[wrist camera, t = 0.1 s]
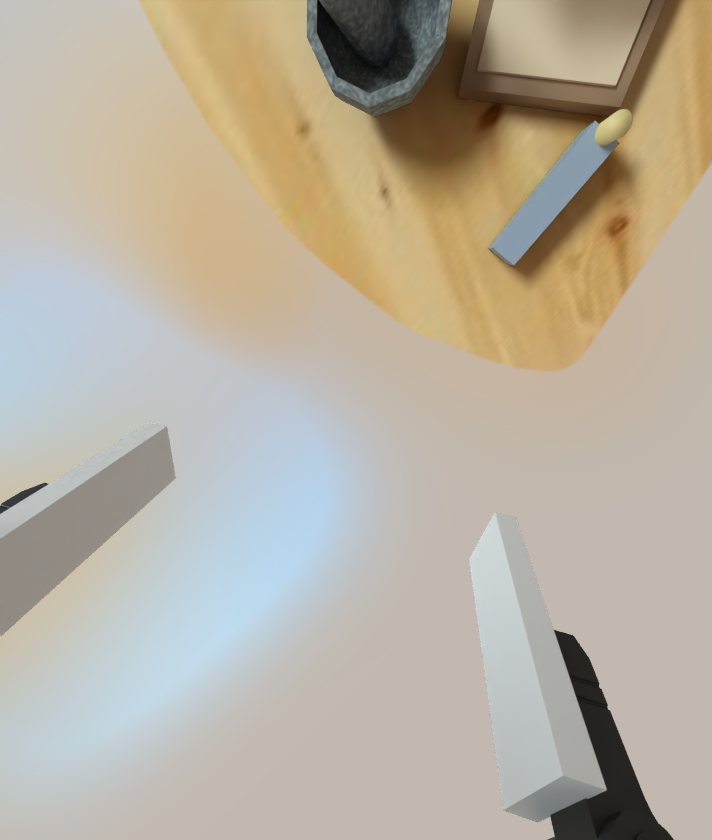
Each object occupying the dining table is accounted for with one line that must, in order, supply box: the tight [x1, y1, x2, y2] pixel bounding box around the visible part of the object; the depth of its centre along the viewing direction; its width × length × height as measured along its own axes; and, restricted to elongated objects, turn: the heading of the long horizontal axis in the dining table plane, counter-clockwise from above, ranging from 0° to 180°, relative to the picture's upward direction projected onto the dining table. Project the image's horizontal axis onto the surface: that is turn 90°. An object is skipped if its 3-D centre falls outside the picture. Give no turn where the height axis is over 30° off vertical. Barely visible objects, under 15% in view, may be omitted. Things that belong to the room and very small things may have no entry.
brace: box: [488, 109, 632, 265], centre depth 26 cm, size 11×2×4 cm, turn 146°
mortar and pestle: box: [307, 0, 452, 117], centre depth 21 cm, size 11×9×12 cm
